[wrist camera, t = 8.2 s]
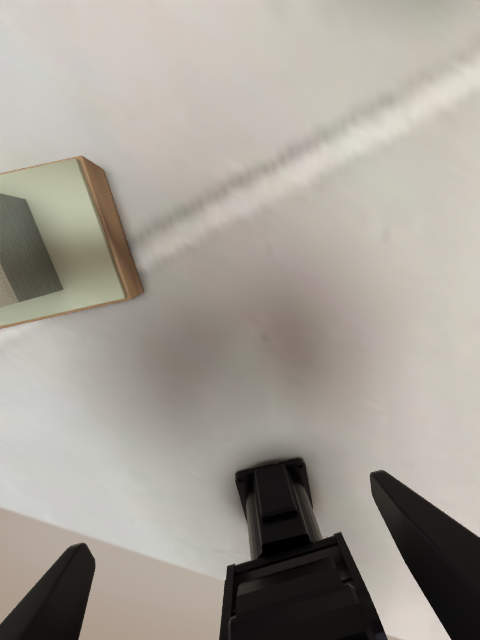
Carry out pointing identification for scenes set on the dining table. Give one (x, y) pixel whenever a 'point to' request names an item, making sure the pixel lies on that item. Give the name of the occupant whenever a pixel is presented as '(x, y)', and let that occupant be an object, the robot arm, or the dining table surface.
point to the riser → (73, 238)
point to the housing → (23, 255)
